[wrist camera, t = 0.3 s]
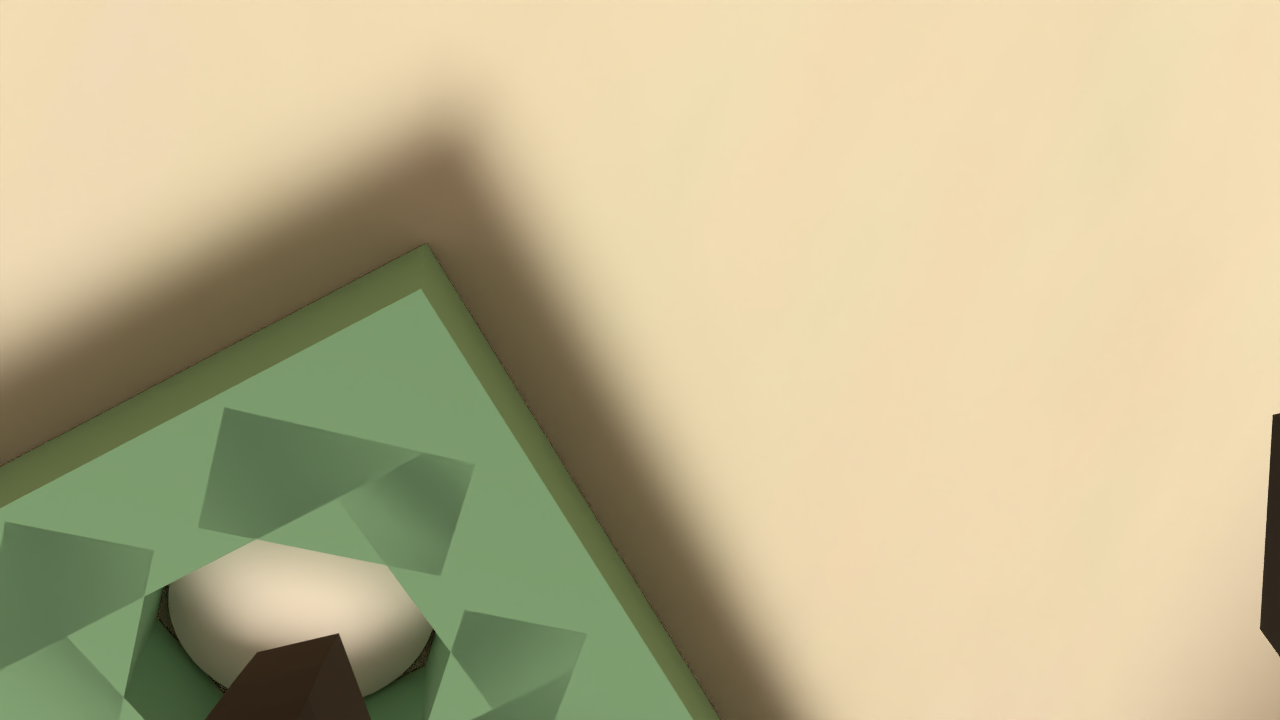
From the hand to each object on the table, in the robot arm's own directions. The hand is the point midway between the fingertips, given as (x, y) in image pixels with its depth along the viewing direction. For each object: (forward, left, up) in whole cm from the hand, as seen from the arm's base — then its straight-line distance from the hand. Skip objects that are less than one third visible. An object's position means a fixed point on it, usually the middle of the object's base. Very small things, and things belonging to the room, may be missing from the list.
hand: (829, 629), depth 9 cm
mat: (-7, +8, -10) cm, 14 cm away
